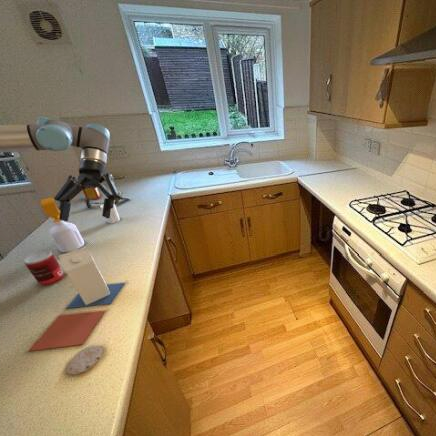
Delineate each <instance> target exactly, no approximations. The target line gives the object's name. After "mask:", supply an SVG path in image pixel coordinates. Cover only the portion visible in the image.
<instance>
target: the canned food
mask: <svg viewBox="0 0 436 436" xmlns="http://www.w3.org/2000/svg"><path fill="white" fill-rule="evenodd" d="M23 263H24V264H25V267H26V268H27V269H28V271H29V272H30V274H31V275H32V277H33V278H34V279H35V280H36V282H37V284H39V285H40V286H45V287H46V286H50V285H54V284H55V283H57V282H59V281H60V280H62V279H63V278H64V277H65V271H64V270H63V268H62V267H61V265H60V263H59V261H58V260H57V258H56V257H55V256H54V254H53V252H52V251H51V250H40V251H36V252H34V253H32V254H30V255H28V256H27V257H25V258H24V260H23Z"/></svg>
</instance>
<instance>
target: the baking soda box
mask: <svg viewBox="0 0 436 436" xmlns="http://www.w3.org/2000/svg"><path fill="white" fill-rule="evenodd" d="M80 186H82V185H81V184H80ZM99 190H100V189H99V188H98V187H96V188H86V189H85V190H82V193H83V194H84V196H85V200H86V199H87V198H91V199H92V201H94V200H100V198H101V197H100V196H101V193H100V191H99Z"/></svg>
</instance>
